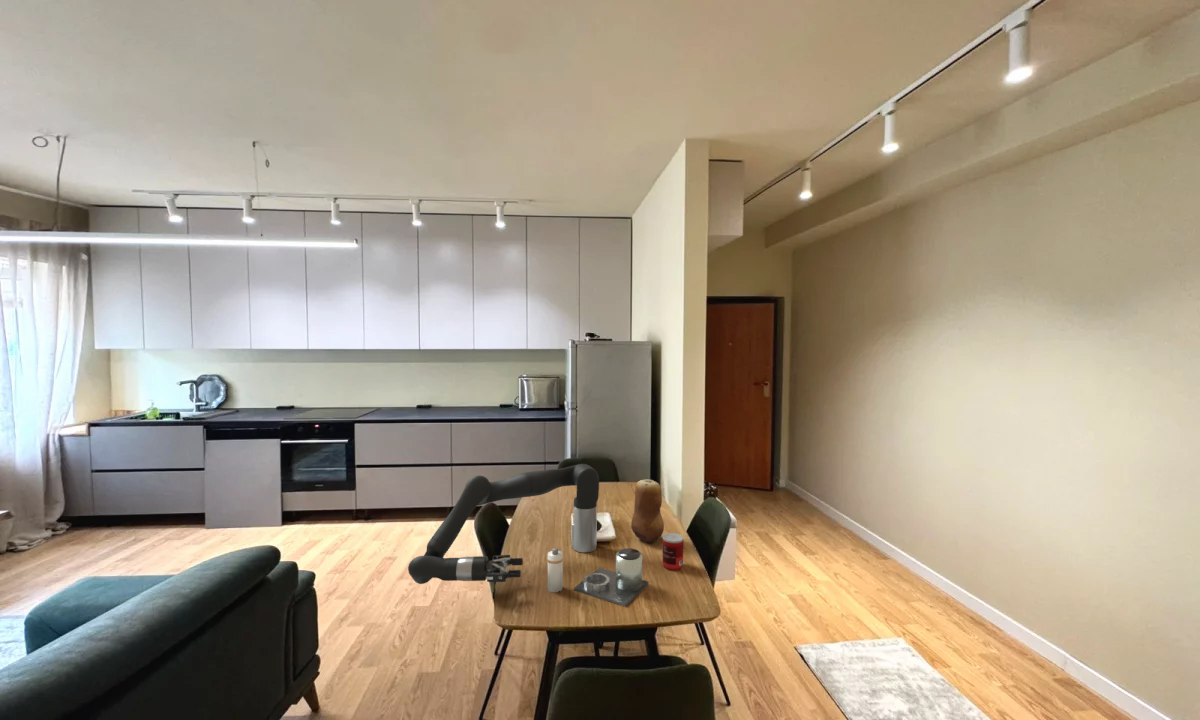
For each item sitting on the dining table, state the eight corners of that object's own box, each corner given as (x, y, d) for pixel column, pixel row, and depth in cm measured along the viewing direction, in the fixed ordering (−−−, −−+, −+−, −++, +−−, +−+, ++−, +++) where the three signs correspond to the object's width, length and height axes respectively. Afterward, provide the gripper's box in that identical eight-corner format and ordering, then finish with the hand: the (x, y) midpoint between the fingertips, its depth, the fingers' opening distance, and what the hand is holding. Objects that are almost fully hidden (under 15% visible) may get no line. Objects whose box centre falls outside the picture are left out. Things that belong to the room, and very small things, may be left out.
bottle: (544, 589, 164) (544, 550, 164) (553, 583, 169) (553, 544, 168) (556, 594, 162) (556, 554, 161) (565, 587, 166) (566, 548, 166)
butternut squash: (668, 538, 207) (669, 479, 206) (655, 549, 196) (656, 488, 195) (639, 531, 214) (639, 474, 213) (624, 542, 203) (625, 482, 202)
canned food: (680, 561, 186) (681, 532, 186) (685, 571, 178) (685, 541, 178) (660, 561, 186) (661, 532, 186) (664, 571, 178) (664, 541, 178)
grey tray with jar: (574, 590, 164) (574, 556, 164) (599, 569, 179) (600, 538, 178) (625, 606, 154) (626, 570, 154) (648, 583, 169) (648, 550, 168)
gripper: (468, 567, 156) (519, 566, 157) (476, 548, 170) (523, 547, 171) (468, 590, 156) (519, 589, 157) (476, 569, 170) (523, 568, 171)
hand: (521, 567), depth 164 cm, fingers open, 8 cm apart
